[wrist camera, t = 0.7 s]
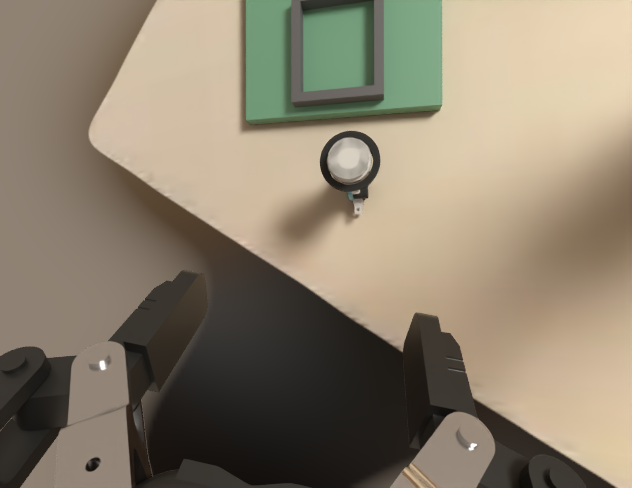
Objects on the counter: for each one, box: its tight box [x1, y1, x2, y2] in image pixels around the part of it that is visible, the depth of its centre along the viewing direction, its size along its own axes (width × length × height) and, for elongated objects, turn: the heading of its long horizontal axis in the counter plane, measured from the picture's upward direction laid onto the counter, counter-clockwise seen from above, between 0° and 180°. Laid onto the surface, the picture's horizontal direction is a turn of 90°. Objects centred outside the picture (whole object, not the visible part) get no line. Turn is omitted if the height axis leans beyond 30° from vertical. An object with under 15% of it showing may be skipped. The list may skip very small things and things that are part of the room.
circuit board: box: [246, 0, 442, 125], centre depth 37 cm, size 22×18×4 cm
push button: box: [320, 131, 380, 215], centre depth 34 cm, size 7×5×10 cm
